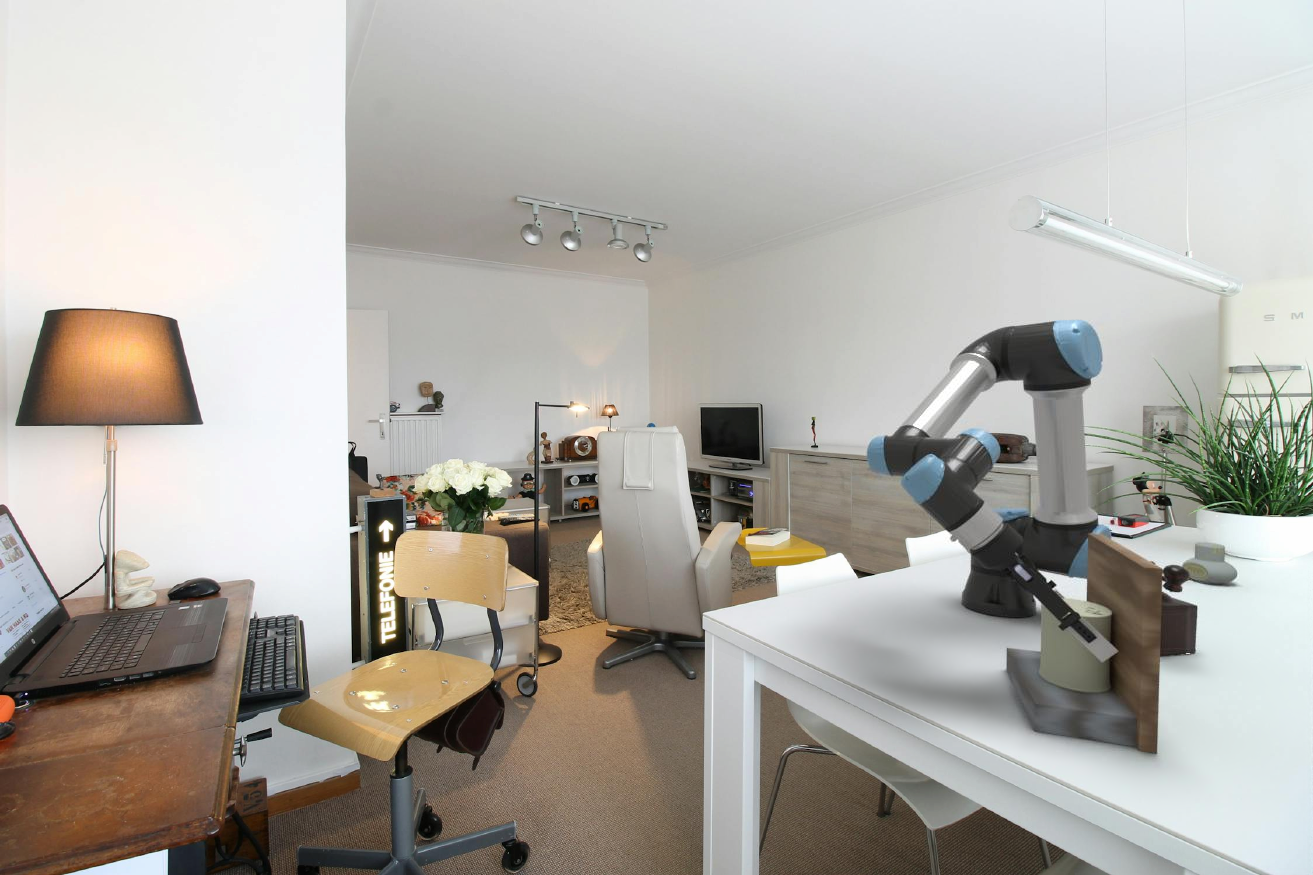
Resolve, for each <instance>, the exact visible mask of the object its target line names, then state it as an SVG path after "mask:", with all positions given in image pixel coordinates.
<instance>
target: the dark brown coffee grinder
mask: <svg viewBox="0 0 1313 875" xmlns="http://www.w3.org/2000/svg"><path fill="white" fill-rule="evenodd" d="M1149 561H1150V562H1152V563H1153V564H1155V565H1157V564H1156V562H1154V561H1152V560H1149ZM1162 569H1163V571H1162V582H1164V583H1163V584H1162V588H1163V589H1165V590H1167V591H1169V593H1182V592H1183V588H1184V587H1183V586H1182V585H1183V584H1184V583H1186V582H1187V581H1189V580H1190V579H1191V578H1190V574H1189V572H1188V571H1187V570H1186V569H1185V568H1183V567H1182V565H1179V564H1169V565H1166V566H1165V567H1164V568H1162ZM1198 609H1199V608H1198V605H1196V604H1194V603H1190V602H1188V601H1185V600H1181V599H1177V598H1175V597H1172V596H1171V595H1169V594H1168V593H1166V592H1164V591H1162V605H1161V640H1160V657H1166V656H1165V655H1175V656H1182V655H1181V654H1186V653H1193V654H1195V653H1197V652H1196V651H1197V650H1196V644H1197V627H1198V625H1197V624H1198ZM1194 652H1195V653H1194Z"/></svg>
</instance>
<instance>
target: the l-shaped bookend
mask: <svg viewBox="0 0 1313 875" xmlns="http://www.w3.org/2000/svg"><path fill="white" fill-rule="evenodd" d="M1150 561H1151V560H1149V559H1146V558H1144V557H1143V556H1141V555H1139V554H1138V553H1136V552H1134V551H1132V550H1131V549H1129V548H1127V547H1125V546H1123V545H1122V544H1120V543H1118V542H1117V541H1115V540H1114V539H1112V538H1111V539H1110V538H1108V537H1106V536H1104V535H1103V534H1090V533H1088V559H1087V579H1086V601H1087V602H1091V603H1095V604H1098V605H1101V606H1104V607H1106V608H1108V609H1109V610H1111V612H1112V618H1111V638H1110V644H1112V645H1113V646H1114V647H1115V648H1116V649H1117V650H1118V652H1117V653H1115V654H1114V655H1112V656H1111V657H1110V684H1111V688H1110V689H1109V690H1108V691H1106V692H1102V693H1085V692H1078V691H1073V690H1069V689H1065V688H1062V687H1059V686H1056V685H1054V684H1052V683H1050V682H1048V681H1046V680H1044V679H1043V678H1042V677H1041V676H1040V674H1039V670H1040V661H1041V650H1040V651H1039V650H1038V651H1036V650H1029V649H1021V648H1014V647H1013V648H1012V647H1006V673H1007V674H1008V677H1009V678H1010V680H1011V683H1012V685H1013V687H1014V690H1015V692H1016V694H1017V696H1018V698H1019V700H1020V702H1021V705H1022V706H1023V709H1024V711H1025V713H1026V716H1027V717H1028V719H1029V722H1030V724H1031V727H1032V728H1033V730H1034V732H1039V733H1045V734H1052V735H1057V736H1062V737H1063V736H1065V737H1070V738H1071V737H1072V738H1076V739H1077V738H1078V739H1085V740H1089V741H1090V740H1091V741H1097V742H1103V743H1109V744H1116V745H1123V746H1128V747H1129V746H1130V747H1134V748H1137V750H1138V751H1139V752H1144V753H1145V752H1146V753H1150V754H1151V753H1152V754H1158V744H1159V743H1158V737H1159V736H1158V735H1159V707H1160V706H1159V702H1160V699H1159V698H1160V668H1161V667H1160V666H1161V663H1160V662H1161V656H1160V640H1161V605H1162V592H1163V581H1162V575H1163V573H1162V571H1163V569H1164V568H1162V567H1160V566H1159V565H1157V564H1156V563H1155V564H1156V565H1155V564H1153V563H1152V562H1150Z"/></svg>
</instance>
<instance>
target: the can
mask: <svg viewBox="0 0 1313 875" xmlns="http://www.w3.org/2000/svg"><path fill="white" fill-rule="evenodd" d="M1062 599H1063V600H1064V601H1065V602H1066V603H1067V604H1068V605H1069V606H1070V607H1071V608H1072V609H1073V610H1074V611H1075V612H1078V613H1079V614H1080V615H1081V616H1082V617H1083V618H1084V619H1085V620H1086V621H1087V622H1088V623H1089V624H1090V625H1092V626H1093V627H1094V628H1095V629H1096V630H1097V631H1098V632H1099V633H1100V634H1101V635H1102V636H1103V637H1104V638H1105V639H1106V640H1107V641H1108V642H1109V643H1110V638H1111V618H1112V612H1111V610H1109V609H1108V608H1106V607H1104V606H1101V605H1098V604H1095V603H1091V602H1087V600H1081V599H1077V598H1075V599H1074V598H1067V597H1065V598H1062ZM1040 606H1041V609H1040V610H1041V614H1040V615H1041V617H1040V618H1041V619H1040V621H1041V624H1040V652H1041V661H1040V670H1039V674H1040V676H1041V677H1042V678H1043V679H1044V680H1046V681H1048V682H1050V683H1052V684H1054V685H1056V686H1059V687H1062V688H1065V689H1069V690H1073V691H1078V692H1085V693H1102V692H1106V691H1108V690H1109V689H1110V688H1111V684H1110V658H1108V659H1107V660H1105V661H1104V662H1101V661H1100V660H1099V659H1098V658H1097V657H1096V656H1095V655H1094V654H1093V653H1092V652H1091V651H1090V650H1089V649H1087V648H1086V647H1085V646H1084V645H1083V644H1082V643H1081V642H1080V641H1079V640H1078V639H1077V638H1076V637H1075V636H1074V635H1073V634H1072V633H1071V632H1070V631H1069V630H1068V629H1067V628H1066V629H1065V630H1063V631H1062V630H1061V629H1060V628H1059V627H1058V626H1059V625H1060V624H1061V622H1060V621H1059V620H1058V619H1057V618H1056V617H1055V616H1054V615H1053V614H1052V613H1051V612H1050V611H1049V610H1048V609H1047V608H1046V607H1045V606H1044V605H1043V604H1042V603H1041V602H1040ZM1069 614H1070V613H1068V614H1066V615H1065V616H1064V617H1063V618H1065V617H1066V616H1067V615H1069Z"/></svg>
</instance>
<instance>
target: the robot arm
mask: <svg viewBox="0 0 1313 875" xmlns="http://www.w3.org/2000/svg"><path fill="white" fill-rule="evenodd" d="M1103 359H1104V358H1103V350H1102V344H1101V341H1100V338H1099V335H1098V333H1097V331H1096V329H1094V327H1093V325H1092V324H1091V323H1089V322H1088V321H1085V320H1083V319H1058V320H1054V321H1044V322H1037V323H1030V324H1020V325H1009V326H1004V327H1000V328H997V329H995V330H992V331H989V332H987V333H986V334H983V335H982V336H981V337H979V338H978V339H976V340H975V341H973V342H971V343H970V344H969V345H967V346H966V347H964V348H963V349H962V350H961V352H959V353H958V354H957V355H956V356H955V358H954V359H953V360H952V362H950V365H949V372H947V374H946V375H945V376H943V378H942V380H940V382H939V383H938V384H937V385H936V386H935V387H934V388H933V389H932V390H931V391H930V392H929V394H928V395H927V396H926V397H925V398H924V399H923V400H922V401H921V403H919V405H918V406H917V407H916V408H915V409H914V410H913V411H912V413H910V414H909V416H908V417H907V418H906V419H905V420H904V422H902V424H900V426H899V427H898V428H897V430H896V431H895V432H894V433H893V434H892V435H887V434H886V435H881V436H880V435H879V436H876V437H874V438H872V439H871V440H870V442H869V443H868V446H867V450H866V460H867V463H868V467H869V468H870V470H871V471H872V472H874V473H876V474H880V475H885V476H890V477H901V480H900V485H901V487H902V489H903V490H905V492H906V493H907V494H908V495H909V496H910V497H911V499H913V501H914V502H915V503H916V504H917V505H918V506H920V507H921V509H923V510H924V511H925V512H926V513H927V514H928V515H929V516H931V517H932V518H933V519H934V520H935V521H936V522H937V523H938V524H939V525H940V526H941V527H942V528H943V529H944V530H945V531H946V532H948V534H949V535H951V536H950V537H949V540H950V541H951V543H952V542H953V543H955V542H956V541H958V543H959V544H960V545H961V546H962V547H963V549H966V550H969V555H970V572H969V574H968V578H967V580H966V583H965V586H964V589H963V590H962V593H961V604H962V605H963V606H964V607H966V608H967V609H969V610H972V611H975V612H977V613H982V614H985V615H990V616H995V617H1003V618H1028V617H1032V616H1034V615H1036V614H1037V601H1038V602H1040V604H1041V603H1042V604H1043V605H1044V606H1045V607H1046V608H1047V609H1048V610H1049V611H1050V612H1051V613H1052V614H1053V615H1054V616H1055V617H1056V618H1057V619H1058V620H1059V621H1060V622H1061V624H1060V625H1059V626H1058V627H1059V628H1060V629H1061V630H1062V631H1063V630H1065V629H1066V628H1067V629H1068V630H1069V631H1070V632H1071V633H1072V634H1073V635H1074V636H1075V637H1076V638H1077V639H1078V640H1079V641H1080V642H1081V643H1082V644H1083V645H1084V646H1085V647H1086V648H1087V649H1089V650H1090V651H1091V652H1092V653H1093V654H1094V655H1095V656H1096V657H1097V658H1098V659H1099V660H1100V661H1101V662H1104V661H1105V660H1107V659H1108V658H1110V657H1111V656H1112V655H1114V654H1115V653H1117V652H1118V650H1117V649H1116V648H1115V647H1114V646H1113V645H1112V644H1110V643H1109V642H1108V641H1107V640H1106V639H1105V638H1104V637H1103V636H1102V635H1101V634H1100V633H1099V632H1098V631H1097V630H1096V629H1095V628H1094V627H1093V626H1092V625H1090V624H1089V623H1088V622H1087V621H1086V620H1085V619H1084V618H1083V617H1082V616H1081V615H1080V614H1079V613H1078V612H1075V611H1074V610H1073V609H1072V608H1071V607H1070V606H1069V605H1068V604H1067V603H1066V602H1065V601H1064V600H1063V599H1062V598H1066V597H1065V596H1064V595H1063V594H1062V593H1060V591H1058V590H1057V588H1055V587H1056V586H1058V585H1057V584H1056V583H1055V582H1054V581H1053V580H1052V579H1051V580H1049V581H1047V580H1048V579H1047V578H1046V577H1045V576H1044V575H1043V574H1042V573H1041V572H1043V573H1050V574H1053V575H1060V576H1062V577H1063V576H1064V577H1068V578H1070V579H1071V578H1077V579H1084V580H1087V559H1088V533H1090V534H1103V535H1104V536H1106V537H1108V538H1110V539H1111V540H1112V532H1111V529H1110V527H1109V526H1107V525H1104V524H1099V515H1098V513H1097V511H1095V510H1094V509H1092V508H1091V507H1090V506H1089V491H1088V474H1087V457H1086V456H1087V455H1086V454H1087V453H1086V436H1085V419H1084V401H1083V398H1084V397H1083V395H1084V393H1085V392H1086V391H1087V390H1088V389H1089V388H1090V387H1091V386H1092V379H1093V378H1095V377H1098V376H1099V375H1100V373H1101V371H1102V368H1103V367H1102V366H1103V365H1102V363H1103V361H1104V360H1103ZM1009 381H1010V382H1011V381H1013V382H1015V381H1022V384H1023V391H1024V392H1025V393H1026V394H1028V395H1029V396H1030V397H1031V398H1032V406H1033V407H1032V408H1033V410H1032V411H1033V423H1034V433H1035V434H1034V435H1035V437H1034V438H1035V452H1036V455H1035V456H1036V465H1037V467H1036V468H1037V482H1038V483H1037V484H1038V495H1039V506H1038V507H1037V508H1036V509H1035V510H1034V511H1032V514H1031V512H1030V510H1029V509H1028V508H1023V507H1002V508H1001V507H1000V508H999V507H997V508H993V507H991V506H990V505H989V504H988V503H987V501H985V500H983V498H981V497H980V496H979V495H978V494H977V493H976V492H975V491H974V490H975V489H976V488H977V487H978V486H979V484H981V482H982V481H983V479H984V478H985V477H986V476H987V475H988V474H989V473H990V472H991V471H992V469H994V466H995V464H996V462H997V461H998V459H999V458H1000V455H1001V447H1000V444H999V441H998V440H997V439H996V437H995V436H993V435H992V434H991V433H990V432H989V431H987V430H983V429H981V428H975V427H974V428H968V429H966V430H965V429H964V431H962V432H961V433H959V434H957V435H956V437H955V438H953V437H952V438H949V437H947V438H946V437H945V436H946V435H947V434H948V433H949V431H950V430H951V429H952V428H953V426H954V425H955V424H956V423H957V422H958V421H959V419H960V418H961V417H962V416H963V414H965V412H966V411H967V410H968V409H969V407H970V406H971V405H972V404H973V402H975V400H976V399H977V398H978V396H979V395H980V394H981V393H984V392H987V391H988V390H990V389H992V388H993V387H994V385H995V384H998V383H1001V382H1009ZM1030 515H1032V516H1030ZM1035 598H1036V599H1037V601H1036V599H1035ZM1068 613H1070V614H1069V615H1067V616H1066V617H1065V618H1063V617H1064V616H1065V615H1066V614H1068Z"/></svg>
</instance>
